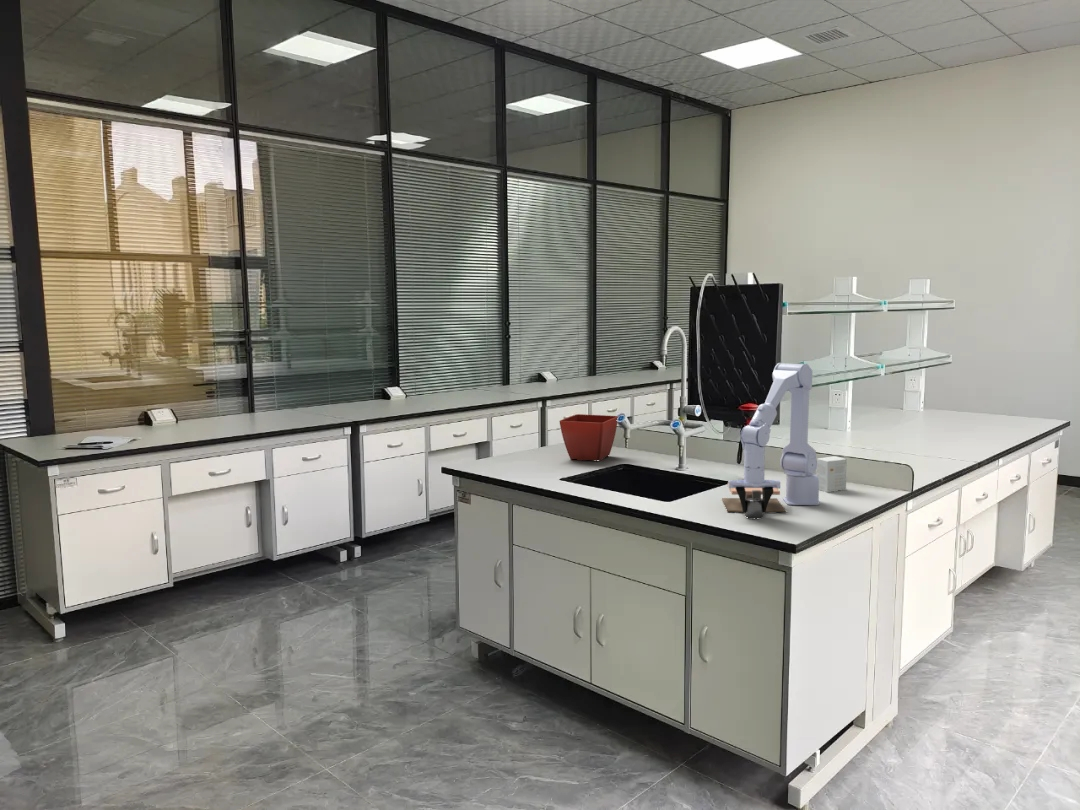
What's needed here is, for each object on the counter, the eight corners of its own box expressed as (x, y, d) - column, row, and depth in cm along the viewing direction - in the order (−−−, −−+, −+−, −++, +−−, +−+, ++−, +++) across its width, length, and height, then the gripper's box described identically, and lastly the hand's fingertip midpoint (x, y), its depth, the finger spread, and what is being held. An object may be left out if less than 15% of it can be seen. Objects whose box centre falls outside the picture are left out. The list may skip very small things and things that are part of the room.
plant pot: (603, 464, 305) (602, 422, 303) (559, 461, 313) (558, 420, 311) (619, 455, 322) (619, 415, 320) (577, 452, 330) (576, 414, 328)
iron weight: (761, 514, 227) (761, 498, 226) (764, 519, 222) (764, 502, 221) (743, 514, 227) (744, 498, 227) (746, 519, 222) (746, 502, 222)
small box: (834, 486, 258) (835, 455, 257) (846, 490, 253) (847, 458, 252) (815, 489, 256) (815, 458, 254) (827, 492, 250) (827, 461, 249)
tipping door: (773, 485, 240) (773, 482, 240) (780, 494, 229) (780, 491, 229) (727, 485, 242) (727, 482, 242) (732, 494, 231) (732, 491, 231)
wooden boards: (776, 500, 243) (777, 480, 242) (786, 512, 228) (786, 491, 227) (721, 499, 245) (722, 480, 244) (727, 512, 230) (727, 491, 229)
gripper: (730, 469, 220) (730, 515, 221) (782, 469, 218) (782, 515, 220) (727, 464, 227) (727, 509, 228) (778, 464, 225) (777, 509, 227)
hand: (753, 512), depth 224 cm, fingers closed on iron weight, 5 cm apart
